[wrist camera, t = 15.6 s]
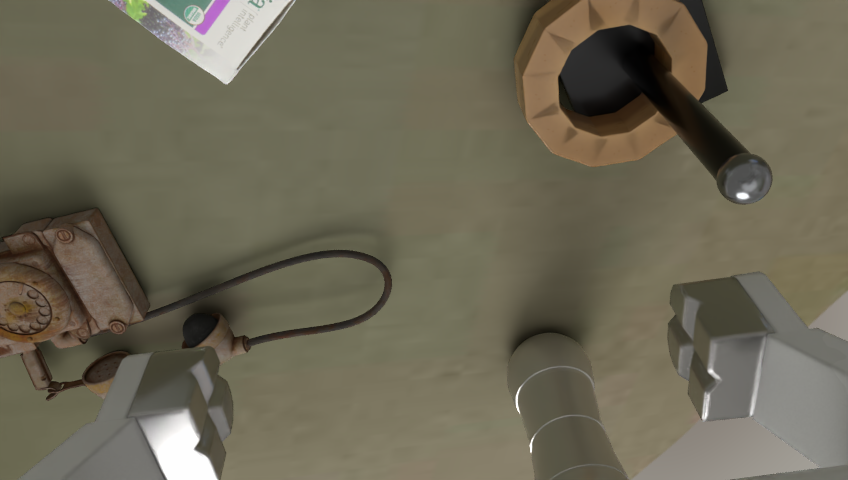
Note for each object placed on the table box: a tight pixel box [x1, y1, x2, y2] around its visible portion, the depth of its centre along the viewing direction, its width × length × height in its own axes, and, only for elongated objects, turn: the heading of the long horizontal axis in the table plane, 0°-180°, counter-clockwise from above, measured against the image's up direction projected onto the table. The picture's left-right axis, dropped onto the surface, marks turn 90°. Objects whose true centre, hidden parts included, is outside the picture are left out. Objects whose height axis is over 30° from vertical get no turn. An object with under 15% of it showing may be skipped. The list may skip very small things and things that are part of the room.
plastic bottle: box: [507, 333, 629, 480], centre depth 49 cm, size 6×7×20 cm
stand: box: [559, 0, 772, 205], centre depth 37 cm, size 9×9×17 cm
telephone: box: [0, 208, 392, 401], centre depth 50 cm, size 15×33×4 cm, turn 104°
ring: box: [514, 0, 708, 167], centre depth 42 cm, size 11×11×3 cm
